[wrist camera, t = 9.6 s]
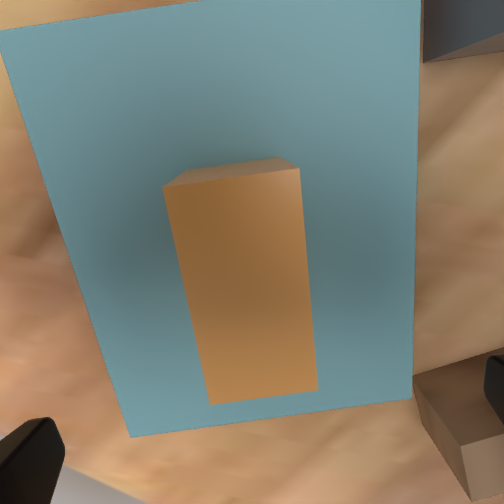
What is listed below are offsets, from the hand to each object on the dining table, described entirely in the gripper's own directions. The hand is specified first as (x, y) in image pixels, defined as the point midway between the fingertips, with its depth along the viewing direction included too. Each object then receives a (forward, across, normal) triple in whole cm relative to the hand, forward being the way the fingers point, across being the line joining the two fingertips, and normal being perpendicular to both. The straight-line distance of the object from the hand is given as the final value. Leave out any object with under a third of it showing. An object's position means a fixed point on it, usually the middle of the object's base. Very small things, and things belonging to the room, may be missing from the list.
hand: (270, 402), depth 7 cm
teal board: (+11, 0, 0) cm, 11 cm away
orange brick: (+9, 0, 0) cm, 9 cm away
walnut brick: (+11, -13, +11) cm, 20 cm away
